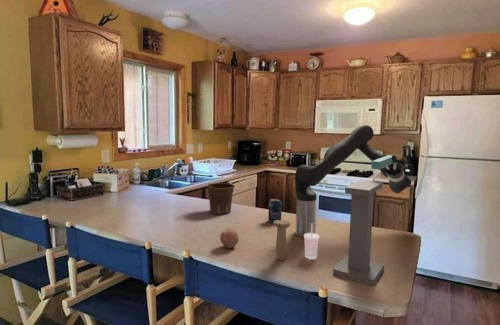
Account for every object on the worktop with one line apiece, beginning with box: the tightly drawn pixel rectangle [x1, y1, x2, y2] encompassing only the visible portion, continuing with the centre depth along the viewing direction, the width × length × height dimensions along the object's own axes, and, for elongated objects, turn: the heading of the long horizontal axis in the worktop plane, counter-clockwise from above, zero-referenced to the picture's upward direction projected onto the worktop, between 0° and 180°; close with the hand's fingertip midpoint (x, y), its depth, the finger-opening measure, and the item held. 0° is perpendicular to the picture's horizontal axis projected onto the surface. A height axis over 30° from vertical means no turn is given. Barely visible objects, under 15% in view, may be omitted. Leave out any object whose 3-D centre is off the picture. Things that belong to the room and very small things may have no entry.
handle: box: [272, 219, 291, 261], centre depth 130 cm, size 5×6×15 cm
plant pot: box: [206, 182, 235, 216], centre depth 195 cm, size 16×16×16 cm
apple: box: [219, 227, 239, 249], centre depth 142 cm, size 8×8×8 cm
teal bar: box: [371, 154, 393, 171], centre depth 138 cm, size 26×3×3 cm, turn 145°
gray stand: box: [332, 179, 385, 286], centre depth 119 cm, size 18×14×32 cm
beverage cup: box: [303, 223, 320, 260], centre depth 132 cm, size 6×6×14 cm
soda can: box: [267, 198, 283, 224], centre depth 178 cm, size 7×7×12 cm
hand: (388, 156), depth 144 cm, fingers closed on teal bar, 3 cm apart
